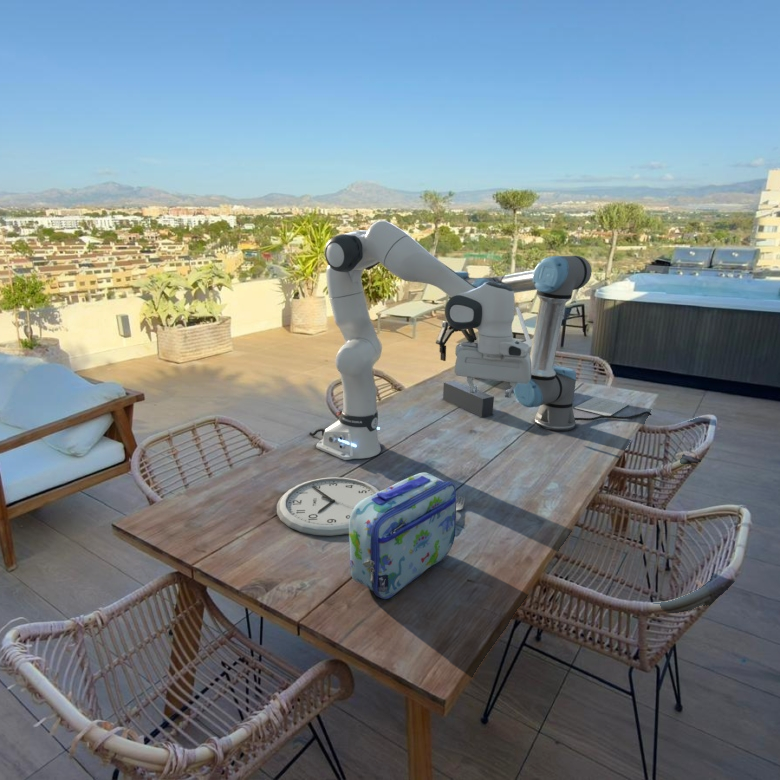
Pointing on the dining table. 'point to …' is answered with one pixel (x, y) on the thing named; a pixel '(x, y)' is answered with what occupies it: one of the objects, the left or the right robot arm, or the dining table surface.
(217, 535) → the dining table surface
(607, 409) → the invitation card
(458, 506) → the fork
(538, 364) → the right robot arm
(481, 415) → the bar
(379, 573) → the lunch box
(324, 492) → the wall clock
